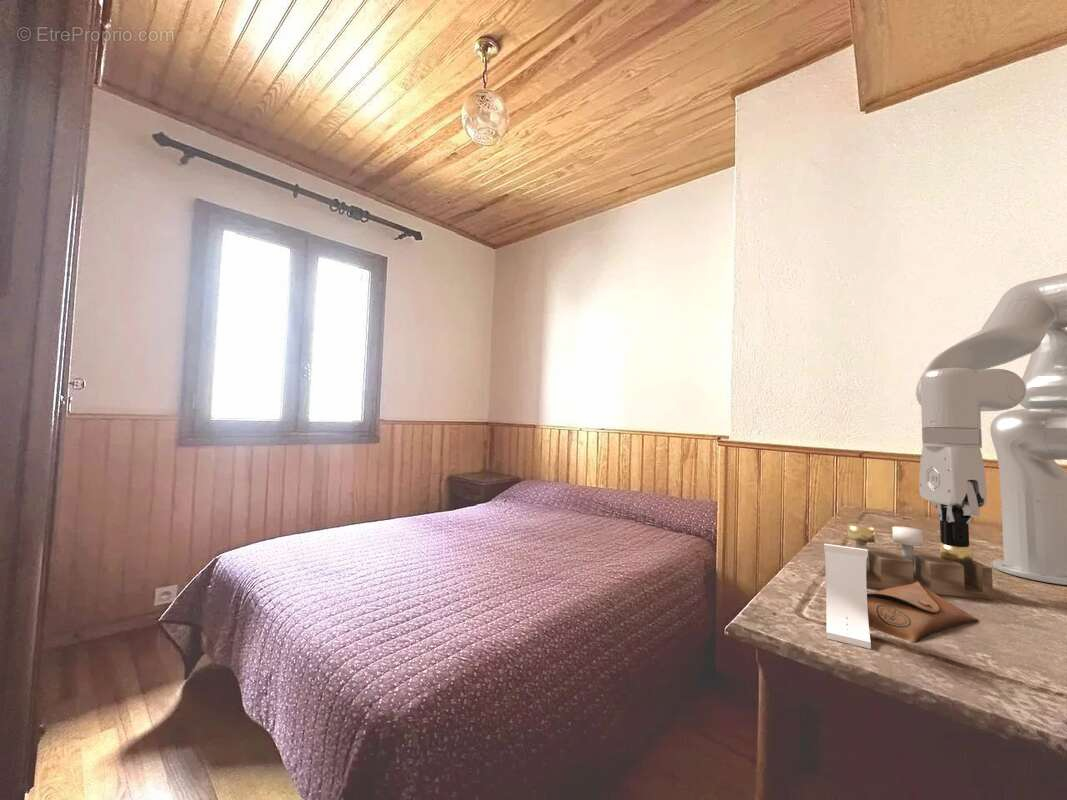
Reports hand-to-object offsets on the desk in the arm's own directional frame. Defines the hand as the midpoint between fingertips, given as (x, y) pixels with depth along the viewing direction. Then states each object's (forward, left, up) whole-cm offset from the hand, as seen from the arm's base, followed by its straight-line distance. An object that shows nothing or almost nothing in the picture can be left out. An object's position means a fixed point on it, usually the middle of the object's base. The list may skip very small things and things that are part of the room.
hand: (954, 544), depth 75 cm
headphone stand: (+25, +25, -8) cm, 36 cm away
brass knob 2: (0, 0, -6) cm, 6 cm away
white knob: (+7, 0, -4) cm, 8 cm away
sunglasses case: (+14, +16, -8) cm, 23 cm away
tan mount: (+7, 0, -8) cm, 10 cm away
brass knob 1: (+14, 0, -4) cm, 14 cm away
